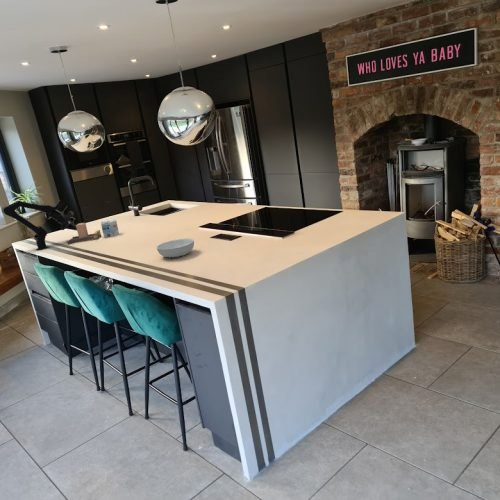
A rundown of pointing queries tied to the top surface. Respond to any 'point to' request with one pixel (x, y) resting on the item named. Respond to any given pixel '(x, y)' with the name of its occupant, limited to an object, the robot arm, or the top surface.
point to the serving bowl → (175, 247)
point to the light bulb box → (110, 228)
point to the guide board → (89, 238)
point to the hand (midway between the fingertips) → (78, 230)
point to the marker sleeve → (82, 230)
